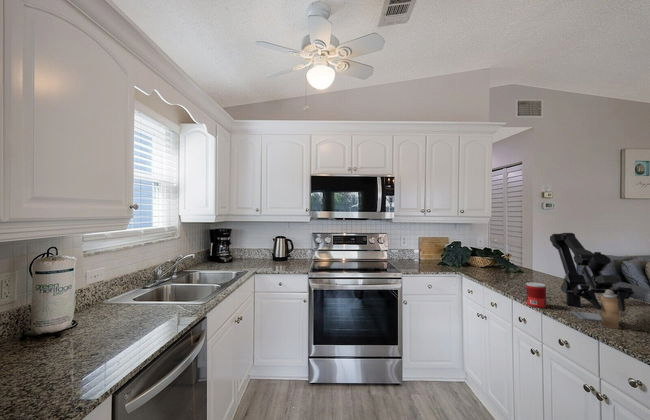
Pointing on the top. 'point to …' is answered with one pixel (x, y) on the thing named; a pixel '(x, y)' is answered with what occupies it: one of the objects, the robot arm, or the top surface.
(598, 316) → the plate
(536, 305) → the canned food
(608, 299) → the pepper mill
